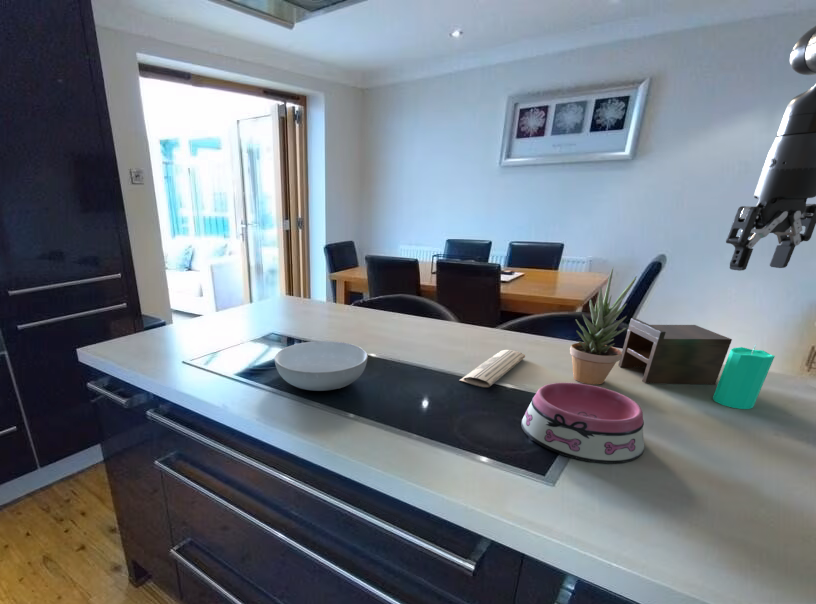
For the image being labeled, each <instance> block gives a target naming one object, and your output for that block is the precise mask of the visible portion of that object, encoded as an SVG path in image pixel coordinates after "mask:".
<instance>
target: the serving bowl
mask: <svg viewBox="0 0 816 604" xmlns="http://www.w3.org/2000/svg"><path fill="white" fill-rule="evenodd" d="M367 363H368V353H367V351H366V350H364V348H362V347H360V346H359V345H355V344H352V343H349V342H344V341H343V342H342V341H336V340H313V341H306V342H305V341H304V342H301V343H295V344H292V345H289V346H286V347H284V348H282V349H280V350H279V351H277V353H276V354H275V355H274V364H275V368H276V371H277V372H278V374H279V375H280V377H281V378H282V379H283V380H284V381H285V382H286V383H287V384H289V385H291V386H293V387H295V388H298V389H301V390H304V391H305V390H306V391H314V392H324V391H325V392H327V391H333V390H337V389H338V390H339V389H341V388H344V387H347V386H349V385H351V384H353V383H355V382H356V381H357V380H358V379H359V378H360V377H362V374H363V373H364V372H365V369H366V367H367Z"/></svg>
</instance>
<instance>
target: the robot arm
mask: <svg viewBox="0 0 816 604" xmlns="http://www.w3.org/2000/svg"><path fill="white" fill-rule="evenodd" d="M789 64H790V67H791V69H792V70H793V71H794V72H795V73H797V74H799V75H802V76H816V25H814V26H813V27H812V28H810V29H809V30H807V31H806V32H805V33H804V34H802V35H801V37H800V38H799V39H798V40H797V41H796V42H795V44H794V46H793V48H792V49H791V52H790V55H789ZM785 107H786V108H785V110H784V112H783V115H782V118H781V120H780V123H779V126H778V129H777V132H776V134H775V138H774V140H773V142H772V144H771V146H770V147H769V150H768V151H767V155H766V158H765V161H764V163H763V166H762V169H761V172H760V174H759V178H758V180H757V183H756V186H755V190H754V193H753V198H754V199H756V200H758V201H757V203H756V205H755V206H749V205H747V206H745V205H744V206H743V205H742V206H740V207H738V208H737V210H736V213H735V216H734V217H733V221H732V223H731V227H730V228H729V231H728V234H727V237H726V239H725V243H726V244H730V245H732V246H733V247H734V250H733V252H732V256H731V259H730V262H729V269H730V270H732V271H738V272H739V271H740V272H741V271H745V270H747V267H748V264H749V261H750V259H751V256H752V253H753V250H754V248H753V247H755V246H756V244H757V243H758V242H759V241H760V240H761V239H764V238H766V237H767V236H769V234H774V235H775V236H776V238H777V243H778V244H777V245H776V246H775V249H774V251H773V253H772V257H771V260H770V262H769V267H771V268H777V269H784V268H785V269H786V268H787V266H788V265H789V263H790V261H791V258H792V255H793V253H794V250H795V249H796V247H797V246H799V245H800V244H801V243H802V242H809V241H810V240H811V238H812V235H813V233H814V230H815V227H816V203H807V201H808V199H814V198H816V82H815V83H814V85H812V86H811V87H810V88H809V89H807V90H806V91H803V92H802V93H800V94H797V95H796V96H794V97H792V99H790V101H789V102H788V103H787V105H786V106H785ZM803 227H804V230H803ZM739 230H741V232H740V235H739V236H738V233H739ZM802 232H803V233H802Z"/></svg>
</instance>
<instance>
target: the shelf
mask: <svg viewBox="0 0 816 604" xmlns="http://www.w3.org/2000/svg"><path fill="white" fill-rule="evenodd" d="M732 341H733V339H732V338H730V337H728V336H725V335H723V334H719V333H717V332H714V331H712V330H709V329H708V328H707V329H706V328H704V327H701V326H699V325H697V324H649V323H647V322H644V321H643V320H641V319H638V318H635V317H634V318H631V317H630V322H629V324H628V327H627V332H626V335H625V339H624V343H623V346H622V350H621V352H622V355H621V358H620V360H619V361H618V367H619V368H643V369H645V370H644V374H643V377H642V382H643V383H644V384H661V385H663V384H664V385H665V384H668V385H714V386H715V385H716V384H717V381H718V378H719V376H720V373H721V370H722V368H723V366H724V362H725V360H726V357H727V354H728V352H729V349H730V347H731V344H732Z"/></svg>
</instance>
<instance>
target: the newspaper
mask: <svg viewBox="0 0 816 604" xmlns="http://www.w3.org/2000/svg"><path fill="white" fill-rule="evenodd" d="M525 358H526V354H524V353H523V352H520V351H517V350H513V349H503V350H500V351H498V352H496V353H495V354H494V355H492V356H490V357H489V358H488V359H487V360H485V361H484V362H482V363H481V364H479V365H478V366H477V367H475V368H474V369H473V370H471V371H470V372H468V373H467V374H465V375H464V376H463V377H462V378H460V379H459V380H458V381H461V382H464V383H466V384H470V385H473V386H477V387H481V388H490V387H491V386H493V385H494V384H495V383H496V382H497V381H498V380H500V379H501V378H502V377H503V376H505V375H506V374H507V373H508V372H509V371H511V370H512V369H513V368H514V367H515V366H517V365H518V364H519V363H520V362H522V361H523V360H524V359H525Z"/></svg>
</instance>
